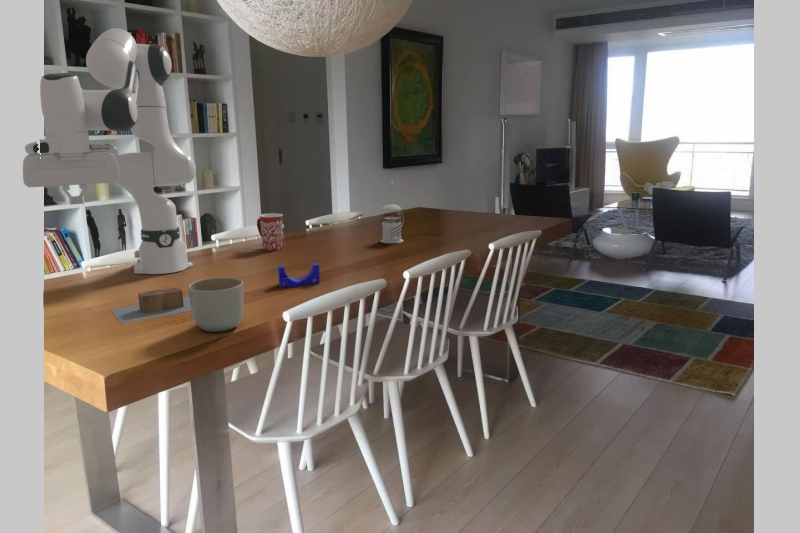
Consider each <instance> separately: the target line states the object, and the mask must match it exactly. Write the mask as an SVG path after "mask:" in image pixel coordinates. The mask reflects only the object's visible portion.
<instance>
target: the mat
mask: <svg viewBox="0 0 800 533" xmlns="http://www.w3.org/2000/svg"><path fill="white" fill-rule="evenodd" d="M183 305H184V307H180V308H174V309H168V310H162V311H157V312H151V313H145V314H143V312H142V311H141V310H140V306H139V304H134V305H129V306H123V307H115V308H111V309H110V311H111V312H112V313H113V315H114V316H115V318H116V319H117V320H118V322H119V323H120V324H126V323H131V322H137V321H141V320H142V321H144V320H147V319H154V318H155V319H156V318H159V317H165V316H170V315H175V314H181V313H189V312H192V309H191V304H190V298H189V295H188V296H183Z"/></svg>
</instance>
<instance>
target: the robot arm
mask: <svg viewBox="0 0 800 533" xmlns="http://www.w3.org/2000/svg"><path fill="white" fill-rule="evenodd" d="M136 42H137V41H136V39H135V38H134V36H132V35H131V33H130V32H128V31H127V30H125V29H122V28H118V27H112V28H109V29H107V30H106V31H104V32H102V33H101V34H100V35H99V36H98V37H97V38H96V39H95V40H94V41H93V43H92V44H91V46H90V48H89V49H88V51H87V52H86V56H85V64H86V68H87V70H88V72H89V74H90V75H91V77H93V78H94V79H95V81H96V82H98V83H100V84H101V85H103V86H106V87H110V88H114V89H83V88H82V86H81V83H80V79H79V77H78V75H77V74H74V73H69V72H57V73H47V74H44V75H43V76H42V77H41V78H40V85H39V86H40V87H39V88H40V89H39V94H40V105H41V106H40V107H41V113H42V116H43V117H44V120H45V128H44V132H45V138H43V139H39V140H40V153H41V155H40V154H39V153H37V151H38V150H39V148H38V147H37V146H38V144H37V142H36V141H34V142H30V143H27V144H25V146H24V150H25V153H26V154H27V155H26V156H24V158H23V161H22V179H23V181H22V182H23V184H24V186H26V187H27V188H40V187H41V188H42V187H61V190H62V191H63V193H64V194H65V195H66V196H67V197H68V201H69V205H84V204H85V200H84V197H85V194H86V192H87V190H88V185H95V184H96V185H97V184H114V183H116V185H117V186H119V187H122V188H123V189H124V190H125V191H126V192H128V193H129V194H130V195H131V197H132V198H133V199H134V201H135V203H136V205H137V207H138V211H139V212H138V213H139V217H140V223H141V224H140V225H141V229H140V240H141V243H140V245H139V248H138V250H137V249H136V251H134V253H133V254H134V259H137V261H134V263H133V266H134V267H133V273H134V275H135V274H142V275H143V274H147V275H162V274H163V275H164V274H171V273H172V274H173V273H177V272H181V271H184V270H186V269H189V268H191V267H193V266H194V264H193V262H191V261H188V253H187V247H186V243H185V242H184V241H183V240H181V231H180V227H179V226H178V218H177V206H176V205H175V203H174V202H173V201H172V200H171V199H169V198H166V197H164V196H162V195H159V194H158V193H157V192H155V190H154V188H155V187H174V186H180V185H185V184H191V182H192V181H193V180H194V179H195V177H196V172H197V167H196V166H197V165H196V162H195V160H194V159H193V158H192V156H191V155H190V154H188V153H187V152H185V151H184V150H182V148H180V147H179V145H178V144H177V143H176V141H175V140H174V137H172V134H171V131H170V126H169V121H168V113H167V104H166V103H167V102H166V98H165V92H164V88H163V85H164V83H165V82H166V81H168V79H169V77H170V76H171V74H172V67H173V66H172V60H171V59H172V58H171V56H170V54H169V51H168V50H167V48H165V47H164V46H163V45H160V44H155V43H151V44H144V43H136ZM130 130H131V133H132V134H133V135H134V136H135V137H136V138H138V139H139V140H141V141H144V142H146V143H148V144H150V145H152V146H153V147H154V151H152V152H149V151H148V152H147V151H146V152H145V151H144V152H129V153H128V152H126V153H122V154H119V151H118V149H117V148H116V147H115V146H112V145H111V144H109V143H108V144H107V143H106V144H91V143H90V142H91V141H90V135H89V131H112V132H129V131H130ZM40 157H41V159H40ZM76 185H77V186H79V190H81V191H80V193H79V195H72V194H71V193H70V192H69V191H70V190H71V189H70V186H76Z"/></svg>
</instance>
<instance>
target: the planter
mask: <svg viewBox="0 0 800 533" xmlns="http://www.w3.org/2000/svg"><path fill="white" fill-rule="evenodd" d="M187 287H188V288H187V290H188V296H189V298H190V304H191V309H192V311H191V313H192V317H193V321H194V323H195V325H196V327H198V328H200V329H201V330H203V331H206V332H209V333H210V332H211V333H220V332H227V331H230V330H232V329H234V328H235V327H237V326H238V325H239V324H240V322H241V321H242V319H243V315H244V282H243V280H242V279H241V278H236V277H224V276H223V277H222V276H221V277H220V276H219V277H211V278H204V279H199V280H195V281H193V282H191V283H190V284H189V285H188V286H187Z"/></svg>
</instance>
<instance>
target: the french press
mask: <svg viewBox="0 0 800 533" xmlns="http://www.w3.org/2000/svg"><path fill="white" fill-rule="evenodd" d="M394 183H395V182H394V181H393V180H390V181H389V182H388V184H389V185H390V198H391V199H390V200H391V203H390V204H386V205H384V206H383V207H381V209H382V211H387V212H388V211H389V212H391V216H390V215H389V216H384V217H383V218H382V219H383V221H382V222H381V223H382V226H381V227H382V229H381V230H382V238H381V240H380V242H381V243H383V244H399V243H403V242H404V240H403V239H402V227H403V225H404V221H405V220H404V218H405V217H404V213H403V212H402V211H401V210H402V207H400V206H399V205H397V204H393V203H392V202H393V199H392V196H393V192H392V190H393V187H392V186H393V184H394ZM393 212H395V214H397V215H399V216H394V215H393ZM401 215H402V216H401ZM401 218H402V221H401Z"/></svg>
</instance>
